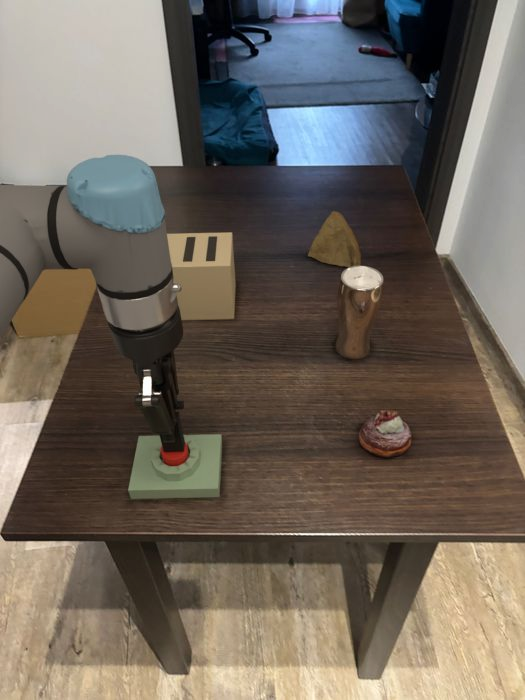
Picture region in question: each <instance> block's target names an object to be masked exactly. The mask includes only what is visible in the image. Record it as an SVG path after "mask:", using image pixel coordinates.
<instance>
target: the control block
mask: <svg viewBox="0 0 525 700" xmlns="http://www.w3.org/2000/svg"><path fill="white" fill-rule="evenodd" d="M183 435H184V440H185V442H186V444H187V448H188V453H189V456H188V459H187V460H186V462H185V463H183V464H181V465H179V466H168V465H166V464H165V463H164V462H163V459H162V455H161V446H162V443H161V439H160V435H138V439H137V443H136V447H135V454H134V457H133V463H132V467H131V474H130V478H129V484H128V489H127V492H128V494H129V498H130V500H150V499H152V500H153V499H196V498H199V499H201V498H220V496H221V494H220V493H221V476H222V475H221V474H222V460H223V459H222V456H223V438H222V434H221V433H217V434H215V433H214V434H184V433H183Z"/></svg>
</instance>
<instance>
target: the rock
mask: <svg viewBox="0 0 525 700" xmlns="http://www.w3.org/2000/svg"><path fill="white" fill-rule="evenodd" d="M307 257H308V258H313V259H315V260H316V261H318V262H320V263H324V264H328V265H334V266H338V267H346V268H349V267H352V266H362V254H361V251H360V247H359V243H358V241H357V239H356V236H355V234H354V231H353V229H352V227H350V226H349V224H348V221H347V220H346V219H345V218H344V215H343V214H341V212H339V211H335V210H333V211H332V212H331V213H330V214H329V215H328V217H327V218H326V219H325V221H324V222H323V223H322V226H321V228H320V229H319V231H318V233H317V234H316V236H315V237H314V239H313V241H312V244H311V246H310V248H309V251H308V253H307Z"/></svg>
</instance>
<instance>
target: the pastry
mask: <svg viewBox="0 0 525 700" xmlns="http://www.w3.org/2000/svg"><path fill="white" fill-rule="evenodd" d="M412 436H413V435H412V432H411V429H410V426H409V425H408V423H406V422H405V421H404V420H402V418H401V416H400V415H399V413H398V412H397V411H396V410H392V411H390V410H387V409H386V410H384V409H380V411H379V412H377V414H376V415H372V416H370V417H369V418H367V419H366V420H365V421H363V423H362V425H361V427H360V429H359V432H358V442H359V444H360V446H361V447H362V448H363V450H365V452H368V453H369V454H371V455H374V456H376V457H379V458H384V459H388V458H394V457H399V456H401V455H403V454H404V453H406V452H407V451H408V450H409V449H410V447H411V443H412V438H413V437H412Z"/></svg>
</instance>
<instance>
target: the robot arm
mask: <svg viewBox="0 0 525 700" xmlns="http://www.w3.org/2000/svg"><path fill="white" fill-rule="evenodd" d="M167 234H168V232H167V225H166V210H165V209H164V205H163V203H162V199H161V195H160V192H159V187H158V182H157V178H156V175H155V172H154V171H153V169H152V167H151V166H150V165H149V164H148V163H147V162H145V161H144V160H142V159H140V158H138V157H135V156H132V155H131V156H130V155H127V154H106V155H105V156H103V157H92V158H88V159H86V160H83V161H81V162H79V163H78V164H76V165H75V166H74V167H73V168H71V170H70V171H69V172H68V174H67V177H66V185H45V184H44V185H41V184H40V185H39V184H38V185H37V184H1V183H0V341H2V336H3V335H4V333H5V332H6V330H7V328H8V327H9V325H10V324H11V322H12V320H13V319H14V317H15V316H16V314H17V312H18V310H19V309H20V308H21V306H22V304H23V303H24V301H25V300H26V299H27V297H28V296H29V294H30V292H31V291H32V289H33V287H34V286H35V284H36V283H37V281H38V280H39V278H40V276H41V274H42V273H43V271H45V270H71V271H72V270H74V271H75V270H76V271H77V270H79V269H80V270H81V269H82V270H84V269H85V270H87V269H88V270H91V274H92V275H93V278H94V281H95V284H96V290H97V292H98V296H99V300H100V304H101V307H102V310H103V314H104V317H105V318H106V321H107V325H108V329H109V333H110V336H111V339H112V343H113V346H114V347H115V349H116V351H117V352H118V353H119V354H121V356H123V357H125V358H126V359H129V360H131V361H132V369H133V372H134V374H135V375H136V376H137V379H138V382H139V387H140V389H141V391H138V394H136V395H135V396H134V403H135V404H134V405H135V406H136V407H137V408H139V409H140V411H141V413H142V416H143V417H144V421H146V424H147V426H148V428H149V430H150V432H151V435H152V436H156V435H158V436H160V439H161V443H162V447H163V451H164V452H184V447H185V440H184V435H185V434H184V430H183V426H182V421H181V416H180V411H177V410H184V409H185V408H184V407H185V402H184V400H178V397H179V394H180V388H179V381H178V375H177V374H178V373H177V365H176V359H175V358H176V357H175V349H176V348H177V347H178V346H179V345H180V343H181V342H182V340H183V337H184V326H183V320H181V314H180V309H179V306H178V299H177V293H176V292H180V291H181V290H182V289H181V284H180V283H174V282H173V279H174V276H173V270H172V263H171V258H170V251H169V245H168V238H167ZM183 434H184V435H183Z"/></svg>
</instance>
